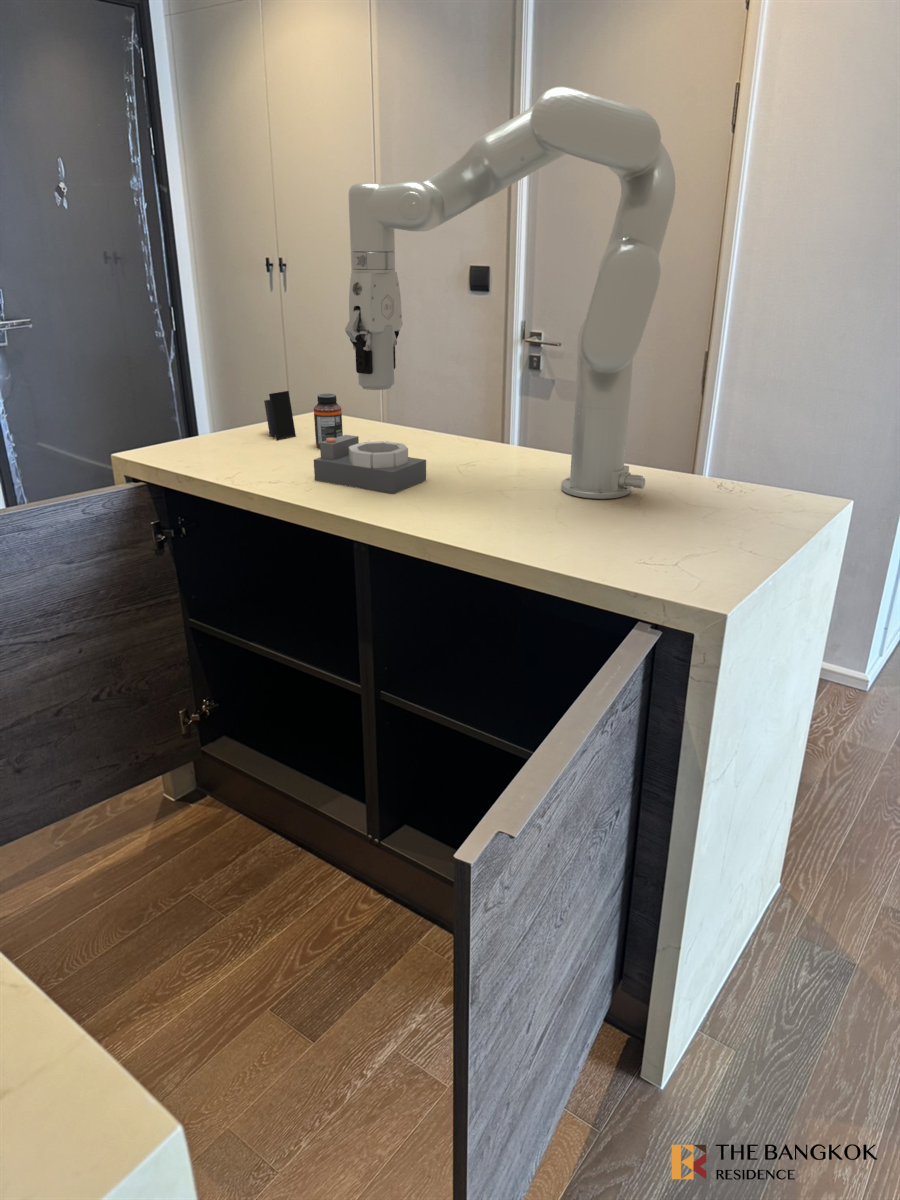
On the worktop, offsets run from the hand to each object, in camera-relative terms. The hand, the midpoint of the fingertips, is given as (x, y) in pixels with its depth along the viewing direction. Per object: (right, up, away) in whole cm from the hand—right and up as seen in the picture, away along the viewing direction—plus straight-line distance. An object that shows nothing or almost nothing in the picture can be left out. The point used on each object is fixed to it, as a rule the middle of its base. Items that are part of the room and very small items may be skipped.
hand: (376, 369), depth 154 cm
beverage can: (0, -3, +1) cm, 3 cm away
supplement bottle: (-13, -8, +35) cm, 38 cm away
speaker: (-26, -3, +45) cm, 52 cm away
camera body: (-2, -19, +9) cm, 21 cm away
